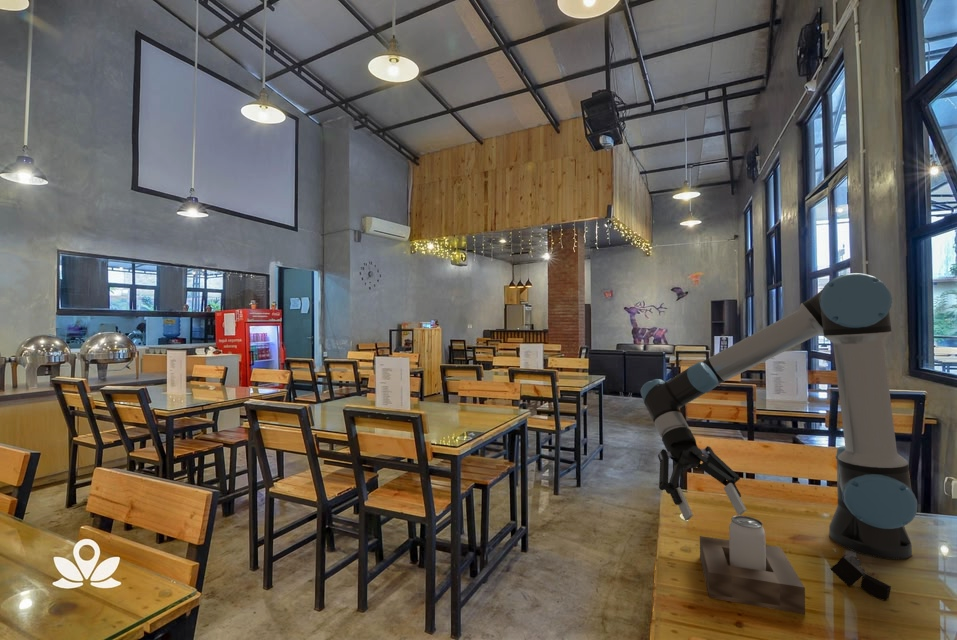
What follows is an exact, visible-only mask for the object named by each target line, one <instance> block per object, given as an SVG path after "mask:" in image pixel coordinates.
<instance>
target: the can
mask: <svg viewBox="0 0 957 640" xmlns="http://www.w3.org/2000/svg"><path fill="white" fill-rule="evenodd" d="M763 526H764V525H763V522H762V521H760V519H757V518H754V517H751V516H747V515H734V516H732V517H731V521H730V523H729V526H728V527H729V529H728V530H729V531H728V532H729V533H728V534H729V537H728V540H729V549H730V566H735V567H741V568H748V569H755V570H761V571H766V547H765V545H766V531H765V529H764V527H763Z"/></svg>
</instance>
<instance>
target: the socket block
mask: <svg viewBox="0 0 957 640" xmlns="http://www.w3.org/2000/svg"><path fill="white" fill-rule="evenodd" d="M765 547H766V571H761V570H755V569H748V568H741V567H735V566H730V549H729V539H724V538H717V537H710V536H702V535H699V558H700V564H701V568H702V572H703V577H704V581H705V585H706V589H707V590H706V591H707V595H708V598H710V599H716V600H719V601H720V600H721V601H728V602H732V603H737V604H743V605H749V606H755V607H760V608H765V609H767V608H768V609H772V610H777V609H778V610H779V611H782V610H783V612H788V611H789V612H790V613H794V614H801V615H806V587H805V585H804V584H803V582H802V580H801V578H800V577H799V575H798V573H797V572H796V571H795V568H794V567H793V565H792V564H791V562H790V560H789V559H788V557H787V555H786V553H785V552H784V550H783V549H782V547H781V546H775V545H768V544H765Z"/></svg>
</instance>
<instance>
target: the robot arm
mask: <svg viewBox="0 0 957 640" xmlns="http://www.w3.org/2000/svg"><path fill="white" fill-rule="evenodd" d="M892 303H893V298H892V293H891V291H890V289H889V287H888V286H887V285H886V284H885V283H884V282H883V281H882V280H881V279H879V278H877V277H876V276H873V275H870V274H867V273H861V272H859V273H858V272H855V273H853V272H852V273H851V272H850V273H846V274H840V275H839V276H835V277H834V278H832V279H831V280H829V281H828V282H827V283H826V284H825V285H824V287H823V288H822V289H821V290H819V292H817V293H816V294H815V295H813V296H812V297H810V298H809V299H807V300H805V301H804V302H802V303H800V305H799V309H797V310H795V311H794V312H792V313H789V314H788V315H786V316H784V317H782V318H781V319H779V320H777V321H774V322H773V323H771V324H770V325H767V326H765V327H764V328H762V329H760V330H758V331H755V333H752V334H751V335H749V336H747V337H745V338H743V339H742V340H740V341H738V342H736V343H734V344H733V345H730V346H728V347H727V348H725V349H723V350H721V351H719V352H717V353H716V354H714V355H712V356H710V357H709V358H707V359H705V360H703V361H699V362H696V363H695V364H692V365H691V366H688V368H686V369H684V370H683V371H681V372H679V373H678V374H677V375H676V376H674V377H672V378H671V379H669V380H667V381H664V380H663V379H660V378H659V379H658V378H655V379H652V380H649V381H647V382H645V383H644V384H643V385H642V387H641V388H640V395H641V398H642V400H643V404H644V406H645V407H646V410H647V411H648V414H649V415H650V417H651V420H652V423H653V424H654V426H655V428H656V431H657V432H658V435H659V436H660V438H661V442H662V443H663V446H664V448H665V449H663V448H662V449H661V450H660V451H659V453H658V454H657V457H658V460H659V475H658V476H659V480H658V481H659V482H658V488H659V490H660V491H665V492H666V493H667V494H669V495H670V497H671V499H672V501H673V503H674V505H676V506H678V507H679V510H680V513H681V515H682V518H683V519H684V522H685V521H689V520H690V519H692V517H694V514H693V512H692V509H691V508H690V505H689V502H688V501H687V499H686V497H685V494H684V492H683V490H682V488H681V487H677V486H678V482H679V480H680V476H681V473H682V471H683V469H684V470H687V469H696V468H697V469H698V470H701V471H703V472H705V473H706V474H708V475H709V476H711V477H712V478H714V479H715V480H716V481H718V482H719V483H720V484H722V485H724V486H725V487H723V490H724V491H725V493H726V496H727V497H728V499H729V501H730V503H731V504H732V506H733V509H734V510H735V512H736V514H737V516H742V515H743V514H744V513H745V512H746V511H747V508H746V506H745V503H744V502H743V501H742V499H741V498H742V495H741V492H740V490H739V489H738V487H737V485H736V483H738V482H739V480H740V476H739V474H737V473H736V472H735V471H734V470H733V469H732V468H731V467H730V466H729V465H728V464H727V463H725V461H723V460H722V459H721V458H720V457H719V456H718V455H716V454H715V452H714V450H713V449H712V447H710V445H707V446H706V447H705V448H699V446H698V444H697V441H696V440H697V439H696V438H695V436H694V434H693V432H692V430H691V429H690V426H689V424H688V423H687V420H686V419H685V417H684V414H683V413H682V411H681V410H680V409H681V408H682V407H684V406H685V405H687V404H688V403H691V402H692V401H694V400H696V399H697V398H699V397H701V396H703V395H705V394H706V393H707V394H708V393H710V392H711V391H713V389H715V388H716V387H718V385H722V384H723V383H724V382H725V381H726V382H727V381H728V380H730V379H732V378H734V377H735V376H738V375H740V374H742V373H744V372H746V371H748V370H750V369H752V368H755V367H757V366H758V365H760V364H762V363H764V362H767V361H769V360H771V359H772V358H775V357H776V356H778V355H780V354H783V353H784V352H786V351H788V350H790V349H792V348H794V347H797V346H798V345H801V344H802V343H805V342H806V341H809V340H810V339H813V338H815V337H816V336H819V335H820V336H821V335H823V337H824V338H825V339H827V340H828V341H829V342H831V343H832V345H833V353H834V363H835V372H836V379H837V388H838V396H839V397H838V398H839V405H840V414H841V422H842V431H843V438H844V445H842V446H839V447H838V448H837V449H836V455H835V459H836V479H837V480H836V482H837V483H836V488H837V489H836V490H837V507H836V509H835V511H834V514H833V516H832V519H831V521H830V523H829V529H828V531H829V537H830V539H831V540H832V541H833V542H834V543H836V544H838V545H840V546H841V547H843V548H845V549H847V550H850V551H853V552H856V553H859V554H862V555H865V556H870V557H872V558H873V557H874V558H880V559H887V560H905V559H909V558H910V557H911V556H912V555H913V548H912V547H913V545H912V542H911V539H910V537H909V535H908V533H907V532H908V531H907V530H906V527H905V526H908V524H910V523H911V522H912V521H913V520H914V518H915V517H916V516H917V513H918V499H917V498H916V495H915V493H914V492H913V489H912V483H911V476H910V469H909V468H910V467H909V461H908V460H907V459H905V458H904V457H903V456H902V455H900V454H899V453H898V450H897V442H896V441H897V440H896V434H895V433H896V432H895V426H894V416H893V409H892V402H891V393H890V385H889V378H888V377H889V376H888V367H887V361H886V351H885V344H884V341H885V340H886V339H887V338H888V337H889V336H890V335H891V334H892V324H891V315H890V310H891V308H892ZM670 459H671V460H672V461H673V462H674V466H673V470H672V473H671V475H670V479H669V470H670V469H669V465H670V464H669V462H670Z"/></svg>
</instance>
